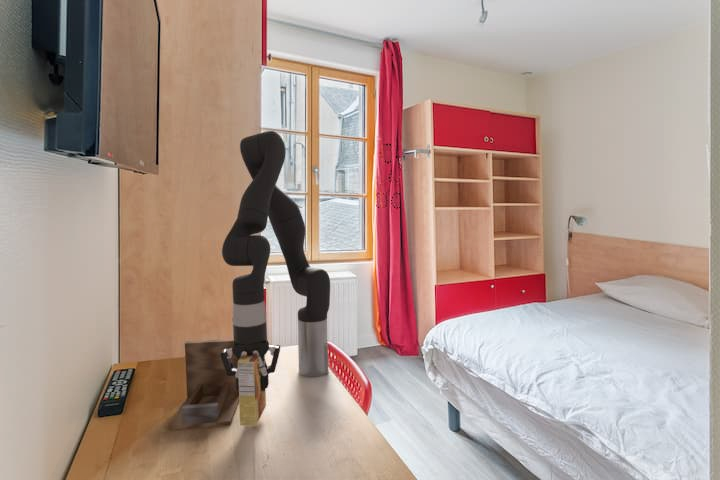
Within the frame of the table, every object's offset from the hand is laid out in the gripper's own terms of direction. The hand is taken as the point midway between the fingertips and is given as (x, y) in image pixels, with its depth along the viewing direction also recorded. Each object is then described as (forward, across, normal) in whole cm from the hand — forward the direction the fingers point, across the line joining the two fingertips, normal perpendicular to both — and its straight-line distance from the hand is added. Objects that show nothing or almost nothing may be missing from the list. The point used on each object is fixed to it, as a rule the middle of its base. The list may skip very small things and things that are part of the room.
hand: (252, 389), depth 89 cm
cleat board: (+9, +12, -8) cm, 17 cm away
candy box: (+7, 0, 0) cm, 7 cm away
